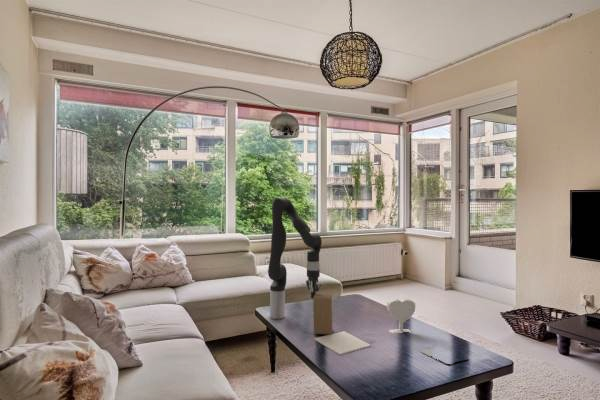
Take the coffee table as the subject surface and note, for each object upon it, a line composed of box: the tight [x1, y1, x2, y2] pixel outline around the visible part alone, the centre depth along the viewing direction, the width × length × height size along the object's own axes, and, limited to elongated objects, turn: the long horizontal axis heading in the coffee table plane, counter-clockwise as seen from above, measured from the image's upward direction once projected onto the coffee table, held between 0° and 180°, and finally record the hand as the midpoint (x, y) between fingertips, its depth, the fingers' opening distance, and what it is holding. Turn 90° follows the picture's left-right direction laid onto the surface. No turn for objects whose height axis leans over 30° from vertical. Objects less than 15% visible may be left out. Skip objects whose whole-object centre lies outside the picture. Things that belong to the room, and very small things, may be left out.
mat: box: [314, 330, 372, 356], centre depth 190 cm, size 22×20×1 cm
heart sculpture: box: [386, 298, 416, 334], centre depth 206 cm, size 16×5×18 cm, turn 96°
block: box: [312, 293, 333, 335], centre depth 204 cm, size 10×10×20 cm
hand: (313, 298), depth 213 cm, fingers closed
